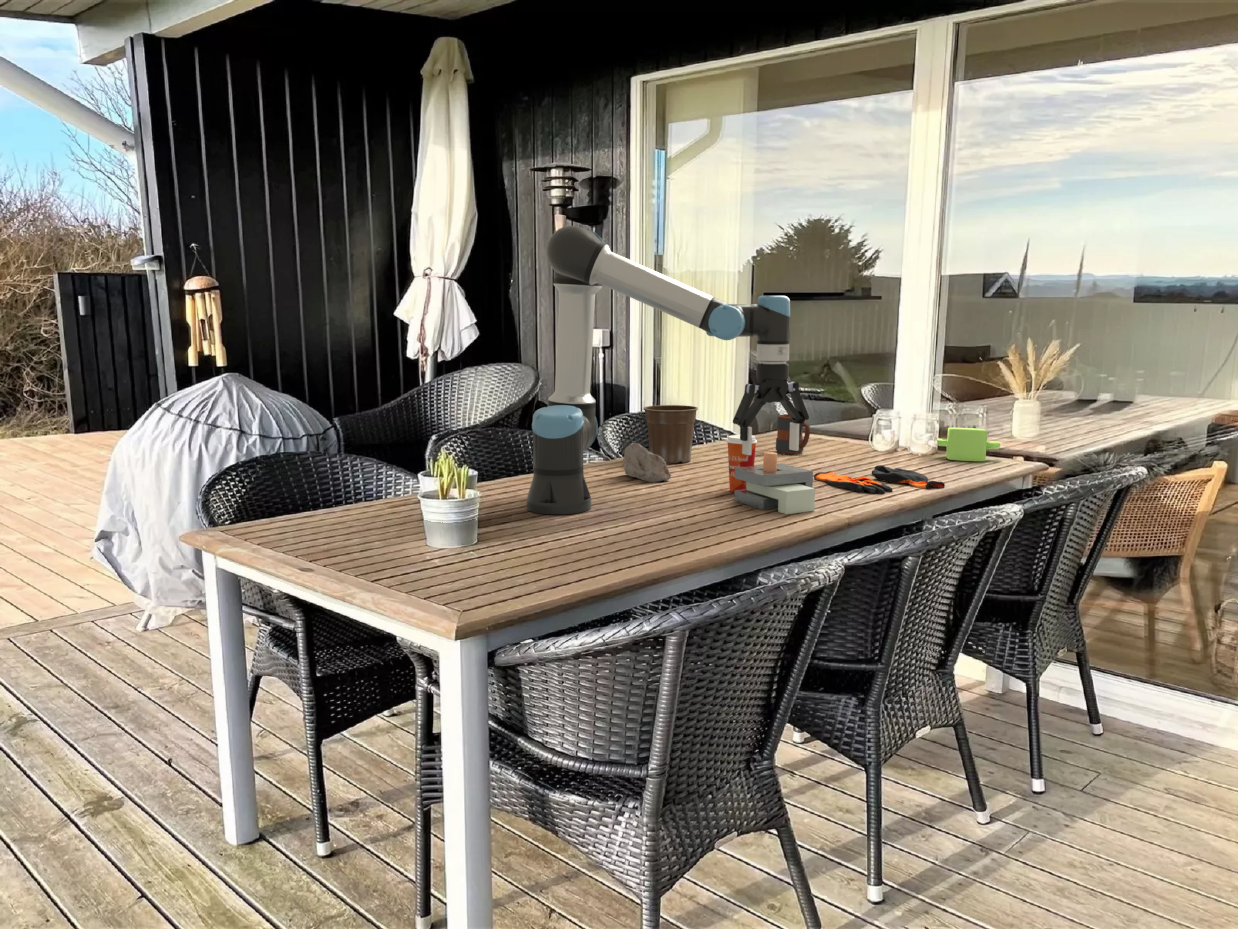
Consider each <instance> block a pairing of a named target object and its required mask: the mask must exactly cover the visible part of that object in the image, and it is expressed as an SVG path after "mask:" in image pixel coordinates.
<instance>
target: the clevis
mask: <svg viewBox="0 0 1238 929" xmlns="http://www.w3.org/2000/svg"><path fill="white" fill-rule="evenodd" d="M735 478H736V479H739V480H743V481H746V482H749V483H753V484H756V485H760V486H763V487H766V486H775V485H784V484H793V483H797V484H800V485H804V486H808V487H811V488H814V486H813V484H814V483H813V482H814V481H813V480H814V471H813V470H810V469H806V468H802V467H798V466H794V465H791V464H786V463H777V471H774V472H766V471H763V465H761V464H760V465H754V466H750V467H740V468H735ZM733 499H734V501H735V502H738V503H741V504H744V505H746V506H750V507H752V508H753V507H754V508H756V509H759V510H762V511H767V510H775V509H778V499H774V498H771V497H768V496H765V495H761V494H758V493H755V492H752V491H748V490H746V489H743V490H735V493H734V498H733Z"/></svg>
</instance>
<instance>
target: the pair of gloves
mask: <svg viewBox="0 0 1238 929" xmlns="http://www.w3.org/2000/svg"><path fill="white" fill-rule="evenodd" d="M871 474H872V475H873V477H874V478H875V479H876V480H878V481H876V480H873V479H871V478H869V477H867V476H859V477H856V478H853V477H852V476H848V475H847V474H845V475H842V474H836V473H835V472H833V471H826V472H823V471H819V472H816V473H815V474H813V480H817V481H822V482H826V483H827V484H828V485H830V486H832V487H837V488H841V489H846V490H851V491H853V492H856V493H858V494H859V493H864V492H865V491H867V492H869V493H871V494H878V495H885V494H886V493H892V492H893V488H892V486H889V485H887V484H885V482H888V483H892V484H907V485H910V486H911V487H914V488H918V489H925V490H931V489H932V488H935V489H943V488H945V483H944V482H943V481H936V480H929V478H928V476H926V475H925V474H923V473H920V472H917V471H914V470H911V469H903V468H901V467H897V468H891V467H888V466H885V465H881V464H877V465H875V466H874V469H873V470H871Z"/></svg>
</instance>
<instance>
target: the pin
mask: <svg viewBox="0 0 1238 929" xmlns="http://www.w3.org/2000/svg"><path fill="white" fill-rule="evenodd" d="M777 464H778V453H777V452H771V451H767V452H766V451H765V452H763V471H766V472H774V471H777Z"/></svg>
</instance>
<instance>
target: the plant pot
mask: <svg viewBox="0 0 1238 929" xmlns="http://www.w3.org/2000/svg"><path fill="white" fill-rule="evenodd" d="M698 409H699V408H698V406H693V405H684V404H683V405H681V404H673V405H672V404H659V405H658V404H657V405H656V404H655V405H648V406H644V407H643V411H644V414H645V421H646V423H647V424H646V427H647V436H648V445H649V447H648V448H649V452H651V453H653V454H655V455H659V456H660V457H662V459H664V461H665V462H666V465H667V464H669V465H670V464H679V463H682V464H683V463H688V462H690V461H691V459H692V449H693V440H694V439H693V438H694V437H693V436H694V429H695V422H696V418H697V411H698Z"/></svg>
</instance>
